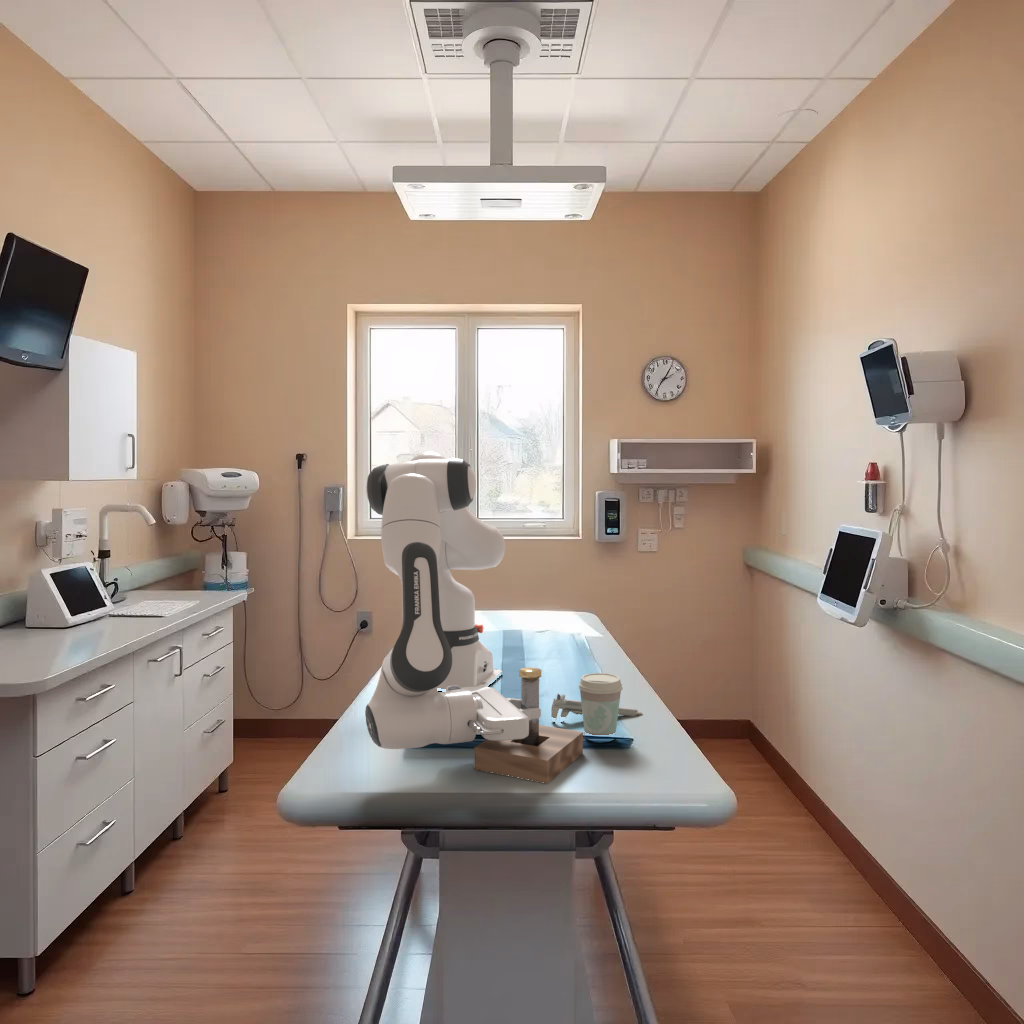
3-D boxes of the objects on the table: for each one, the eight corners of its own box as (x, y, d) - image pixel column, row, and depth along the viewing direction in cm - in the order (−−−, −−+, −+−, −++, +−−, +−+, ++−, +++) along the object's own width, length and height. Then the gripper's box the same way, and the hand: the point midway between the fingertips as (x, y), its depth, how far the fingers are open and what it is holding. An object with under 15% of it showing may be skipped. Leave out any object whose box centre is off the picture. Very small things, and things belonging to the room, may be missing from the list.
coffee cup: (569, 738, 159) (569, 677, 159) (596, 728, 165) (597, 669, 165) (603, 749, 153) (604, 686, 153) (630, 738, 159) (631, 677, 159)
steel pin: (519, 748, 149) (519, 667, 148) (541, 748, 149) (541, 667, 148) (518, 755, 145) (518, 672, 144) (540, 756, 145) (541, 673, 144)
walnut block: (515, 741, 158) (515, 721, 157) (582, 753, 151) (582, 732, 151) (474, 769, 143) (474, 747, 143) (547, 783, 137) (547, 760, 137)
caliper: (553, 725, 168) (553, 695, 168) (551, 723, 169) (551, 693, 169) (643, 716, 174) (643, 687, 174) (640, 714, 175) (641, 685, 175)
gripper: (478, 716, 132) (557, 707, 137) (445, 683, 152) (515, 676, 156) (478, 754, 133) (557, 744, 137) (445, 716, 152) (515, 709, 157)
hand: (534, 708), depth 147 cm, fingers closed on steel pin, 3 cm apart
